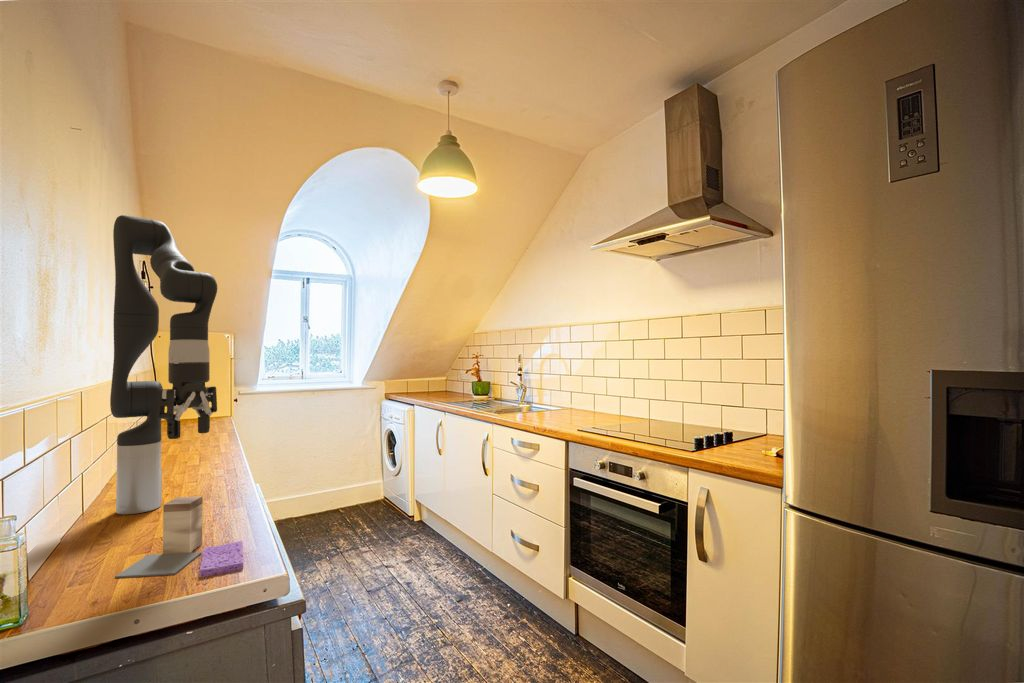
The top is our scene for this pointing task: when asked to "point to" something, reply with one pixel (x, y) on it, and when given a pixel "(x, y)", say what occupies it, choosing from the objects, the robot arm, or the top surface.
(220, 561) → the sponges
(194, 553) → the mat
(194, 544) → the birch block
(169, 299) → the robot arm
